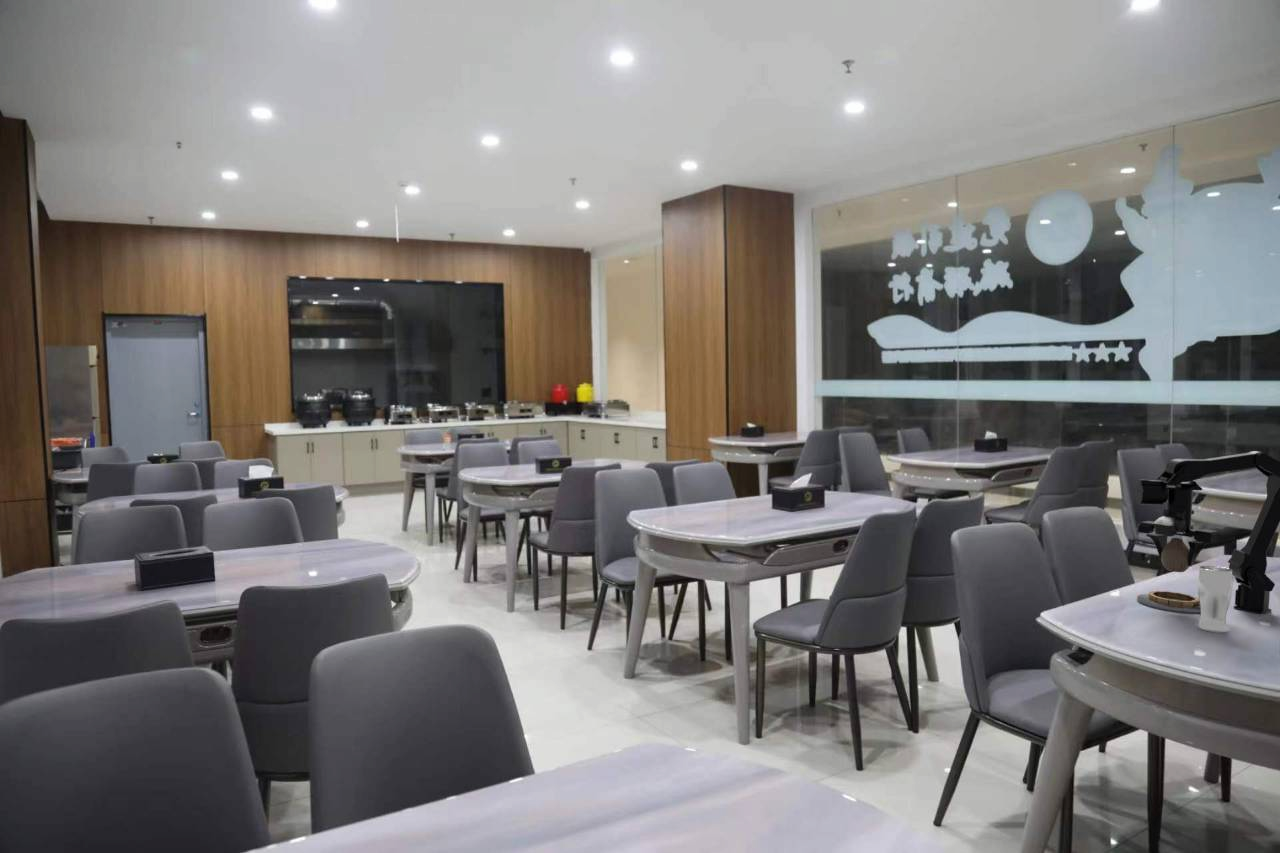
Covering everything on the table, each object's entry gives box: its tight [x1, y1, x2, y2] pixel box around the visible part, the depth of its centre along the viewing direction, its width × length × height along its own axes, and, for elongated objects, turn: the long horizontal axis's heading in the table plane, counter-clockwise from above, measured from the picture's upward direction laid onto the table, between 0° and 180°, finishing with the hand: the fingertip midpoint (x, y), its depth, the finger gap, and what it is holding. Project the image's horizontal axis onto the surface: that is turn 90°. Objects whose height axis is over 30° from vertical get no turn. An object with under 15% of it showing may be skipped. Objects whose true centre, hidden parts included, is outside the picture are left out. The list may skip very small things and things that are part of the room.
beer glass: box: [1197, 565, 1234, 634], centre depth 208 cm, size 7×7×15 cm
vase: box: [1160, 537, 1190, 573], centre depth 230 cm, size 7×7×9 cm
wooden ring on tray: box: [1136, 590, 1200, 614], centre depth 231 cm, size 17×17×2 cm
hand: (1176, 563), depth 230 cm, fingers closed on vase, 7 cm apart
